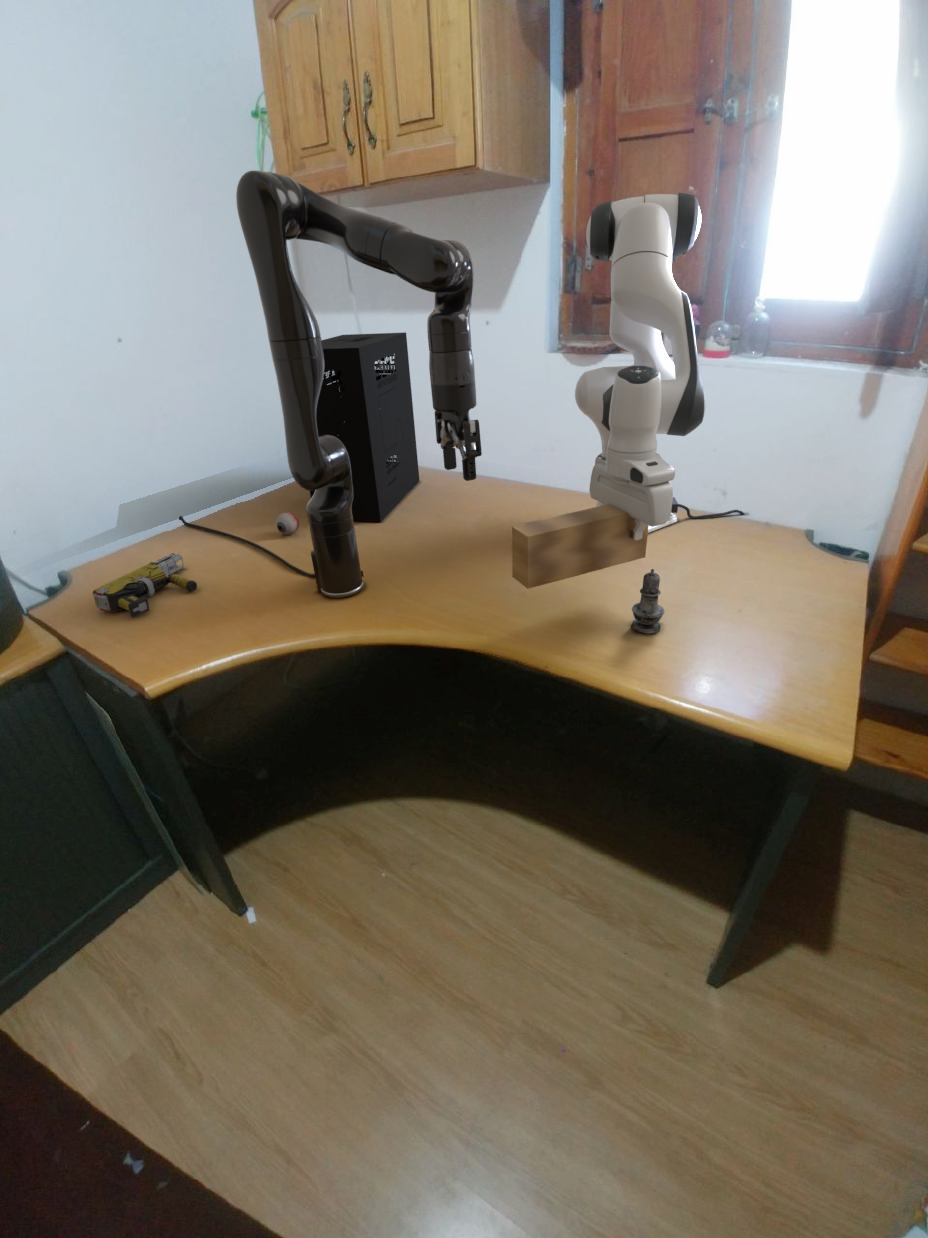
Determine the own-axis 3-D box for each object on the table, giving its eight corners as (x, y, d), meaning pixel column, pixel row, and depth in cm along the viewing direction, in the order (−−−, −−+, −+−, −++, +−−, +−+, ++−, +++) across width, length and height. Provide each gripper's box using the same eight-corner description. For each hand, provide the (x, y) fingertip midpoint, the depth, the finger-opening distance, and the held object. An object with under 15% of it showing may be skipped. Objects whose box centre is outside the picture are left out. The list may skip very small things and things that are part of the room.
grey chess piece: (663, 635, 111) (671, 576, 105) (630, 633, 112) (636, 575, 106) (661, 619, 116) (668, 562, 110) (629, 617, 117) (635, 561, 111)
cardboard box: (380, 521, 169) (358, 347, 147) (314, 519, 174) (283, 350, 151) (419, 480, 201) (406, 332, 178) (362, 479, 205) (342, 334, 183)
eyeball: (273, 537, 164) (268, 516, 161) (287, 528, 169) (282, 508, 166) (291, 539, 161) (286, 518, 158) (305, 530, 166) (301, 510, 163)
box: (626, 547, 124) (631, 499, 119) (645, 557, 119) (650, 507, 114) (512, 576, 115) (511, 526, 110) (527, 589, 110) (527, 536, 105)
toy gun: (221, 561, 143) (169, 550, 147) (142, 604, 123) (85, 590, 127) (223, 579, 146) (173, 568, 149) (147, 624, 125) (91, 610, 129)
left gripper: (417, 378, 106) (426, 469, 114) (449, 386, 94) (457, 487, 102) (455, 372, 108) (462, 462, 116) (491, 380, 97) (496, 479, 105)
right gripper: (583, 452, 118) (580, 519, 125) (653, 479, 102) (645, 554, 109) (610, 447, 120) (605, 513, 127) (682, 473, 104) (672, 546, 111)
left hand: (460, 474), depth 109 cm, fingers open, 8 cm apart
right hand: (624, 532), depth 118 cm, fingers closed on box, 6 cm apart
